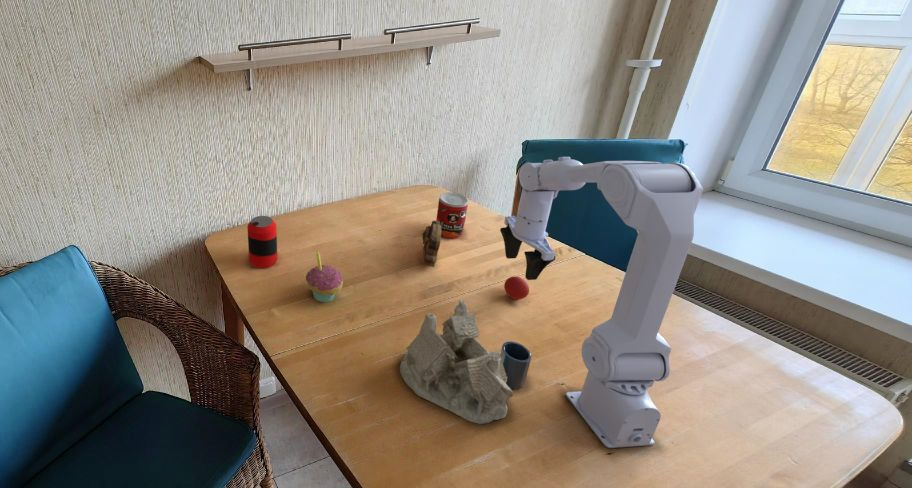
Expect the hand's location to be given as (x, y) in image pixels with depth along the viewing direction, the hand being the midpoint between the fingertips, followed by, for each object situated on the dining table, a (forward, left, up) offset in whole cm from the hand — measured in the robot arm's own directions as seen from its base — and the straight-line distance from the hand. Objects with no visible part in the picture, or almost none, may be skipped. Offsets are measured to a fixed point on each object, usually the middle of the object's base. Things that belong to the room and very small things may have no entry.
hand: (520, 267), depth 96 cm
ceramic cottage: (-22, +25, -8) cm, 34 cm away
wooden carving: (+16, +14, -8) cm, 23 cm away
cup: (-21, +13, -8) cm, 26 cm away
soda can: (+19, +58, -8) cm, 61 cm away
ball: (0, 0, -6) cm, 6 cm away
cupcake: (+4, +44, -8) cm, 45 cm away
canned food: (+28, +3, -8) cm, 29 cm away
